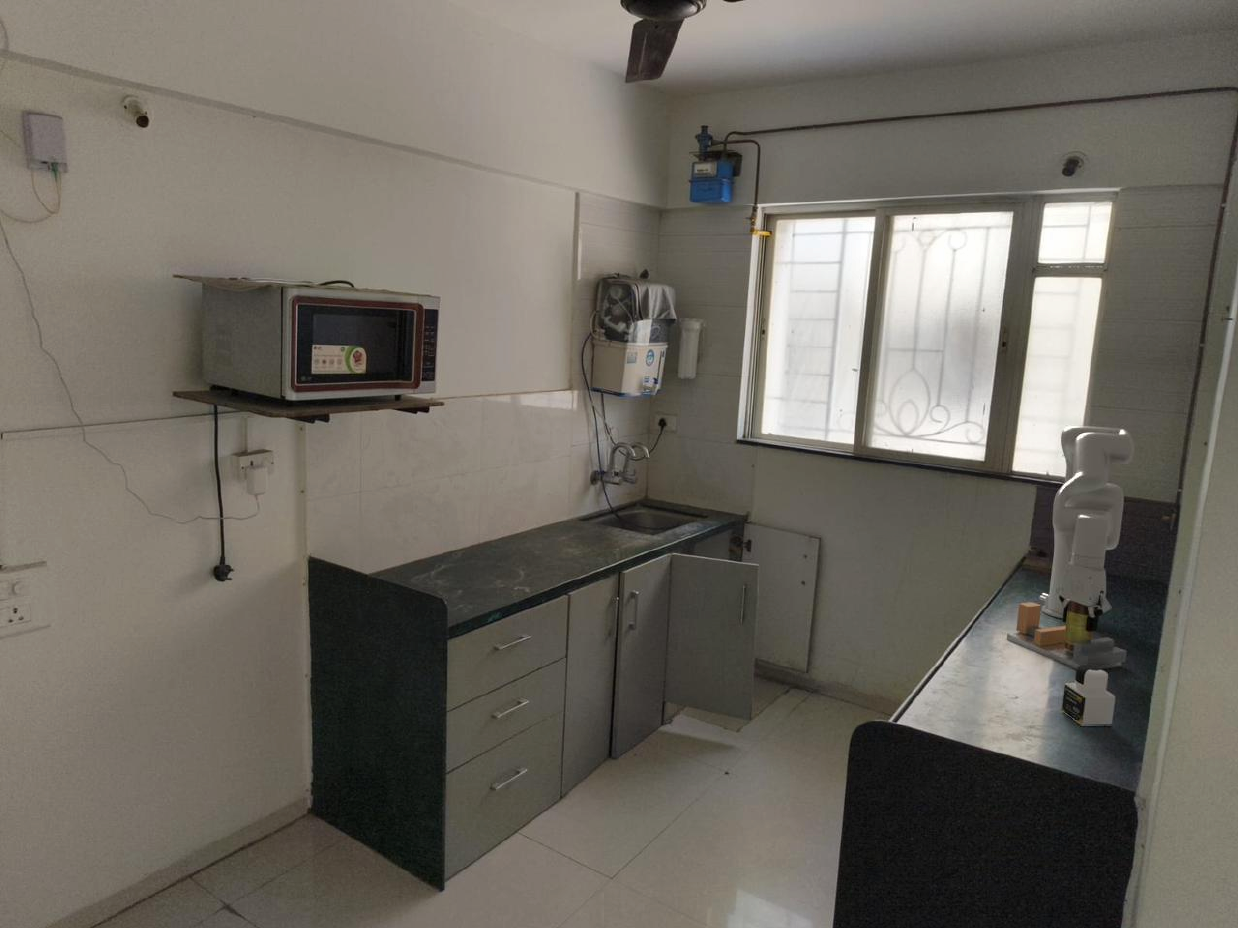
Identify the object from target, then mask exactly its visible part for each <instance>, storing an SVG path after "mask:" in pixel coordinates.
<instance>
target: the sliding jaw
mask: <svg viewBox="0 0 1238 928" xmlns="http://www.w3.org/2000/svg"><path fill="white" fill-rule="evenodd" d="M1018 605H1019V606H1018V610H1017V611H1018V612H1017V621H1016V630H1015V631H1016V632H1021V633H1023V634H1029V635H1032V636H1034V644H1036V645H1039V646H1043V645H1050V644H1058V643H1065V642H1064V638H1065V628H1066V625H1061V626H1053V627H1046V628H1042V627H1039V626H1040V620H1041V618H1040V617H1041V610H1042V605H1040V604H1038V603H1035V602H1033V601H1032V602H1024V603H1019V604H1018Z"/></svg>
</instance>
